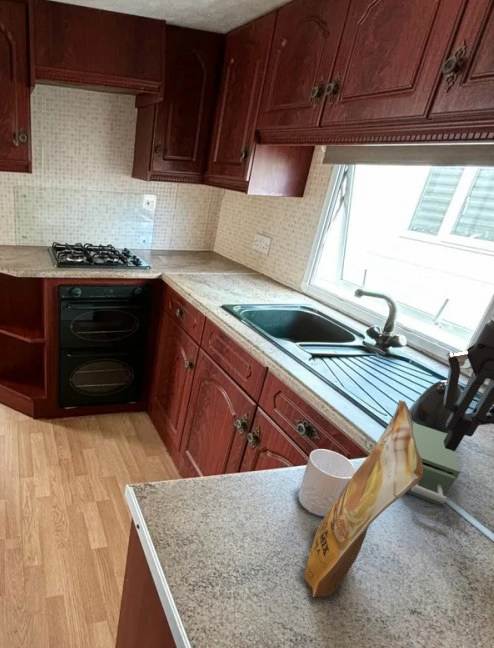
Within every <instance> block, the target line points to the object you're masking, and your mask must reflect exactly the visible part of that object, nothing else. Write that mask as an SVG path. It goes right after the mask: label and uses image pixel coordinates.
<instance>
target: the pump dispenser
mask: <svg viewBox="0 0 494 648" xmlns="http://www.w3.org/2000/svg"><path fill="white" fill-rule="evenodd" d="M446 384H447V379H442V380H439V381H437V382H435V383H433V384H431V385H430V386H429V387H427V388H426V389H425V390H424V391H423V392H422V393H421V394H420V395H419V396H418V397H417V398H416V399H415V401H414V402H413V403H412V405H411V406H410V408H408V409H409V411H410V413H411V416H412V422H413V423H416V424H419V425H422V426H425V427H428V428H431V429H434V430H437V431H440V432H443V433H446V434H448V432H449V430H447V428H446V422H447V420H448V419H449V417H450V415H451V413H452V411H450V410H447V409H446V408H445V406H444V395H445V389H446ZM462 392H463V390H462V388H461V387H460V385H459V384H458V386H457V392H456V397H455V403H456V402H457V400H458V399H459V397H460V395H461V393H462Z"/></svg>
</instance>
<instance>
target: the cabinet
mask: <svg viewBox="0 0 494 648" xmlns="http://www.w3.org/2000/svg"><path fill="white" fill-rule="evenodd" d="M413 434H414V438H415V442H416V446H417V450H418V452H419V455H420V457H421V460H422V462H424V463H426V464H429V465H432V466H435V467H437V468H440V469H443V470H446V471H449V472H448V474H451V475H454V476H455V481H454V483H453V484H452V486H451V488H450V489H449V491H448V493H449V492H450V490H451V489H452V487H453V486H454V484H455V482H456V480H457V479H458V477H459V476H460V474H461V468H460V463H459V460H458V456H457V455H458V454H457V452H456V451H457V450H456V451H452V450H449V449H446V448H445V446H444V439H445V437H446V436H447V434H446V433H443V432H440V431H437V430H434V429H431V428H428V427H425V426H422V425H419V424H416V423H413ZM448 493H447V494H446V496H447V495H448ZM442 504H443V503H441V504H440V505H439V506H442Z"/></svg>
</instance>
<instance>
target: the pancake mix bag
mask: <svg viewBox="0 0 494 648" xmlns="http://www.w3.org/2000/svg"><path fill="white" fill-rule="evenodd" d="M409 409H410V408H409V407H408V404H407V402H406V401H405V400H400V399H399V400H398V404H397V407H396V409H395V411H394V414H393V415H392V417H391V419H390V421H389V422H388V424H387V425H386V428H385V429H384V431H383V433H382V434H381V436H380V437H379V440H378V441H377V443H376V444H375V445H374V447H373V449H372V450H371V452H370V453H369V454H368V455H367V457H366V458H365V460H364V461H363V462H362V463H361V465H360V466H359V467H358V468H357V469H356V470H357V471H356V472H355V474H354V475H353V477H352V478H351V479H350V481H349V482H348V483H347V485H346V486H345V488H344V489H343V491H342V492H341V494H340V495H339V497H338V498H337V500H336V501H335V503H334V504H333V506H332V507H331V509H330V510H329V512H328V513H327V515H326V516H323V517H324V518H322V520H321V522H320V523H319V525H318V527H317V530H316V533H315V535H314V539H313V541H312V544H311V548H310V552H309V556H308V558H307V562H306V564H305V571H304V580H303V581H304V582H305V583H306V584H307V585H308V586H309V587H310V589H312V598H319V597H329V596H331V595H332V594H334V593H335V592H336V591H337V589H338V588H339V586H340V585H341V583H342V582H343V580H344V579H345V577H346V576H347V575H348V573H349V572H350V569H351V568H352V567H353V565H354V564H355V562H356V560H357V558H358V555H359V554H360V551H361V549H362V546H363V544H364V541H365V538H366V536H367V533H368V529H369V527H370V526H371V524H373V522H374V521H375V520H376V519H377V518H378V517H379V516H380V515H381V514H382V513H383V512H384V511H385V510H386V509H387V508H389V507H390V506H391V505H392V504H394V503H395V502H396V501H397V500H399V499H400V498H402V497H403V496H404V495H405V494H406V493H407V491H408V490H409V489H411V488H412V487H414V486H416V485H417V484H418V482H419V481H420V479H421V478H422V476H423V463H422V460H421V457H420V455H419V452H418V450H417V446H416V442H415V438H414V434H413V422H412V416H411V413H410V411H409Z"/></svg>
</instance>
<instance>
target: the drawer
mask: <svg viewBox="0 0 494 648" xmlns="http://www.w3.org/2000/svg"><path fill="white" fill-rule="evenodd" d="M422 463H423V476H422V478H421V479H420V481H419V482H418V484H417V485H416V486H414V487H412V488H411V489H409V490H408V491H407V492H406V493H407V494H410V495H413V496H415V497H418V498H420V499H422V500H425V501H428V502H430V503H433V504H435V505H436V506H437V505H438V506H441V505H442V504H444V503H445V502H446V499H447V495H448V494H447V493H449V492H450V490H451V489H452V487H453V485H454V484H455V482H456V480H455V476H454V475H451V474H448V472H449V471H446V470H443V469H440V468H437V467H435V466H432V465H429V464H426V463H424V462H422ZM454 481H455V482H454ZM453 483H454V484H453ZM452 484H453V485H452ZM451 486H452V487H451ZM450 488H451V489H450ZM449 489H450V490H449ZM448 491H449V492H448ZM446 494H447V495H446ZM441 503H442V504H441ZM440 504H441V505H440Z"/></svg>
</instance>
